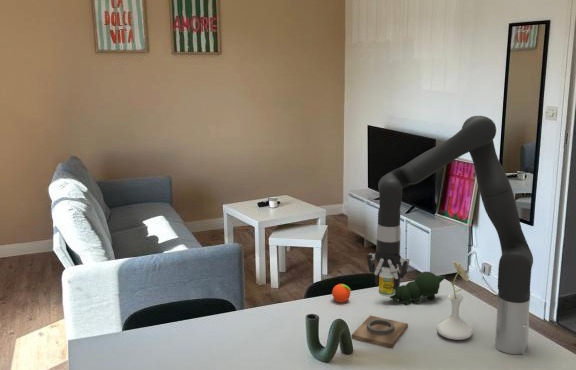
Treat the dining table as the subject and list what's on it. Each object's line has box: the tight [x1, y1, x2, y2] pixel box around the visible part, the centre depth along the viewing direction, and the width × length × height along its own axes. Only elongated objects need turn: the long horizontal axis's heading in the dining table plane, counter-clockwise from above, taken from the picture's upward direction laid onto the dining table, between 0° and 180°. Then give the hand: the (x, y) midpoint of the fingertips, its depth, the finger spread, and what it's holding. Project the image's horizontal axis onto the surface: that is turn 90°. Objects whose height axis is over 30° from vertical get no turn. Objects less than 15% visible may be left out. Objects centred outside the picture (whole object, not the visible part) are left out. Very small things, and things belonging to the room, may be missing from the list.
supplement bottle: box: [378, 266, 395, 298], centre depth 183 cm, size 5×5×10 cm
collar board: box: [351, 315, 409, 349], centre depth 190 cm, size 14×16×3 cm
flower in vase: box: [436, 260, 473, 341], centre depth 186 cm, size 13×11×25 cm
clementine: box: [331, 283, 352, 303], centre depth 215 cm, size 8×7×7 cm
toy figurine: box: [389, 262, 447, 306], centre depth 213 cm, size 9×19×25 cm
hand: (387, 286), depth 184 cm, fingers closed on supplement bottle, 5 cm apart
